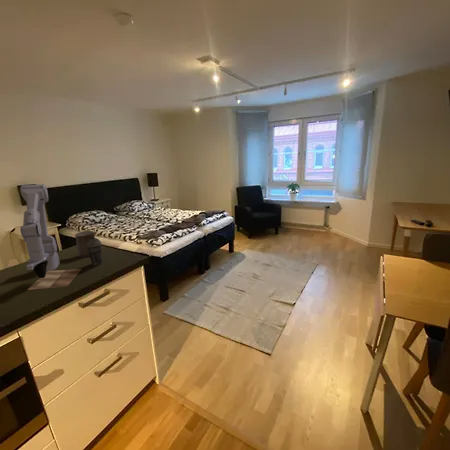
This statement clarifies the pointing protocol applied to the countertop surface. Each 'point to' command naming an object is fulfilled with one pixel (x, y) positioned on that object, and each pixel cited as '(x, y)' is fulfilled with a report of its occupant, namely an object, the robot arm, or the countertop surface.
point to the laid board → (66, 278)
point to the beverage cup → (95, 250)
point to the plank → (47, 280)
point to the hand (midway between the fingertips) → (42, 277)
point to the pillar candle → (83, 243)
